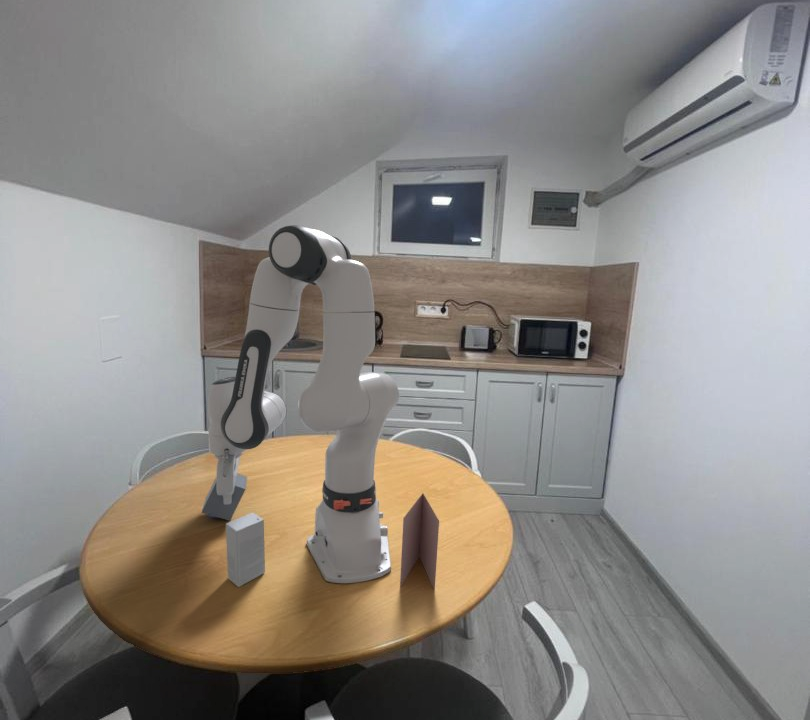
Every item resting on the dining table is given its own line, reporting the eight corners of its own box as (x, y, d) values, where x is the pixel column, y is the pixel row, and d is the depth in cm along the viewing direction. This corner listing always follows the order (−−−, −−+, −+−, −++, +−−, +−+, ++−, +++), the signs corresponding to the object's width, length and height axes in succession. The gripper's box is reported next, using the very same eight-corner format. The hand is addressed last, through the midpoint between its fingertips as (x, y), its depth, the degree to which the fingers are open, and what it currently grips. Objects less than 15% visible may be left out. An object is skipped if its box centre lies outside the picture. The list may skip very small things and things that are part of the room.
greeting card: (415, 554, 96) (419, 492, 94) (447, 563, 94) (452, 499, 91) (395, 586, 86) (399, 517, 83) (431, 597, 83) (436, 526, 81)
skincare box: (253, 564, 91) (253, 511, 88) (265, 573, 88) (265, 519, 86) (226, 578, 86) (224, 523, 84) (237, 588, 83) (236, 531, 81)
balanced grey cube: (230, 520, 106) (245, 489, 106) (201, 512, 103) (217, 480, 103) (232, 506, 112) (247, 476, 112) (205, 498, 110) (220, 467, 110)
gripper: (239, 458, 97) (240, 514, 99) (244, 428, 116) (245, 476, 119) (208, 460, 95) (210, 517, 97) (219, 429, 114) (220, 478, 117)
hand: (229, 494), depth 108 cm, fingers closed on balanced grey cube, 7 cm apart
